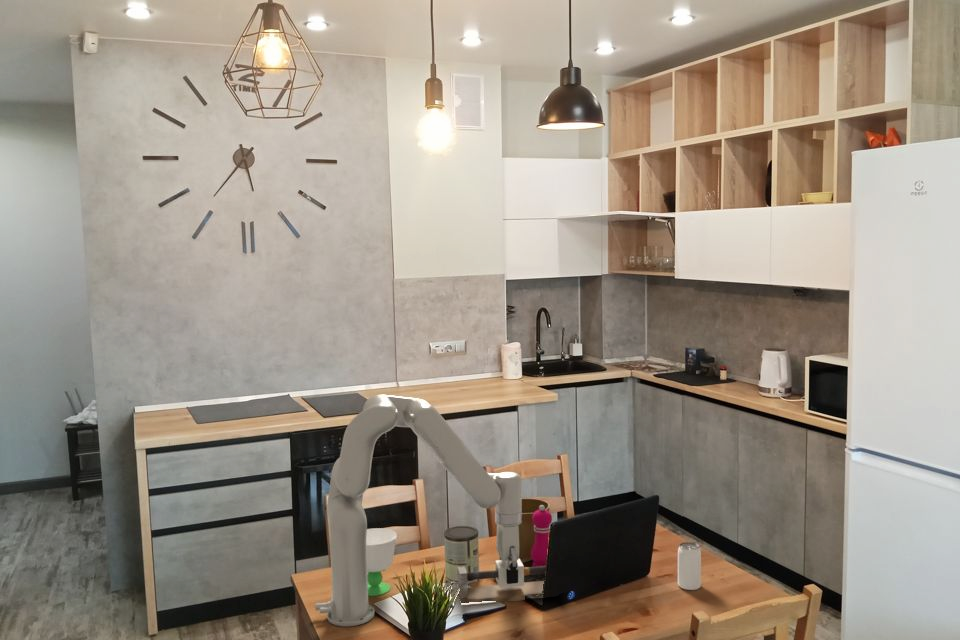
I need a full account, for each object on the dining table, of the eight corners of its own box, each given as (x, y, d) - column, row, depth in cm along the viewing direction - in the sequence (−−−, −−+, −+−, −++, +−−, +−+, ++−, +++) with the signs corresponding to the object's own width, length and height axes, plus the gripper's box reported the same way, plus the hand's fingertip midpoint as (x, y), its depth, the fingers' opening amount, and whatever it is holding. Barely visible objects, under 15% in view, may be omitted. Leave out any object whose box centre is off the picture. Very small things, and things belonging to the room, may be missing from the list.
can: (686, 592, 226) (686, 551, 225) (673, 583, 232) (673, 543, 231) (705, 588, 228) (705, 547, 227) (691, 579, 234) (691, 540, 233)
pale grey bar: (461, 605, 220) (460, 576, 220) (457, 593, 228) (456, 564, 227) (560, 596, 225) (559, 567, 224) (552, 585, 233) (552, 556, 232)
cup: (390, 601, 224) (388, 546, 223) (344, 597, 227) (342, 543, 226) (404, 581, 238) (403, 529, 236) (360, 578, 240) (358, 527, 239)
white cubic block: (499, 587, 223) (499, 568, 222) (495, 579, 228) (495, 560, 228) (524, 585, 224) (523, 565, 224) (519, 577, 230) (519, 558, 229)
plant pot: (528, 541, 267) (527, 495, 266) (559, 554, 256) (559, 505, 255) (494, 553, 258) (493, 504, 257) (525, 566, 247) (524, 516, 245)
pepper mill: (534, 574, 240) (533, 509, 239) (528, 565, 247) (527, 502, 246) (557, 572, 242) (556, 507, 240) (550, 563, 249) (550, 500, 247)
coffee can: (447, 570, 245) (446, 525, 244) (481, 571, 244) (480, 525, 243) (442, 584, 235) (441, 537, 234) (477, 585, 234) (476, 538, 233)
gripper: (489, 508, 232) (490, 565, 234) (501, 528, 215) (501, 589, 217) (515, 506, 234) (515, 563, 235) (528, 526, 217) (528, 587, 218)
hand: (508, 576), depth 226 cm, fingers open, 9 cm apart
